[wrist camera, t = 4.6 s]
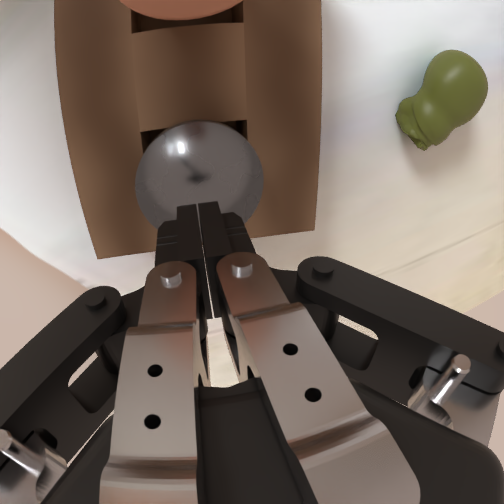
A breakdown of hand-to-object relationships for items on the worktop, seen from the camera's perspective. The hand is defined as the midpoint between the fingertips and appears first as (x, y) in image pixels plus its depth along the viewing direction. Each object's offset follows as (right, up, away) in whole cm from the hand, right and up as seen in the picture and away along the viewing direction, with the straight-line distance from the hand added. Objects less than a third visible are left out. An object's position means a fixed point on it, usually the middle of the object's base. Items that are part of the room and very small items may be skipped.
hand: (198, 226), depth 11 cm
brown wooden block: (-2, +11, +6) cm, 12 cm away
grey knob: (-2, +5, +8) cm, 10 cm away
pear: (+17, +13, +10) cm, 23 cm away
